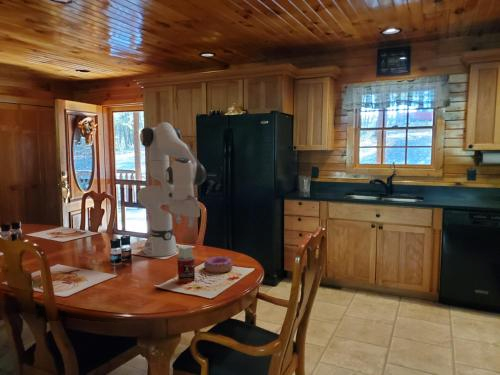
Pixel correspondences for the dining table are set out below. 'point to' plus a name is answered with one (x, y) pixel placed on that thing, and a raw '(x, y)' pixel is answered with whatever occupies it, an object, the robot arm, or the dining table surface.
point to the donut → (218, 264)
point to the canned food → (186, 269)
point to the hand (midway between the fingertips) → (184, 224)
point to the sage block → (185, 251)
